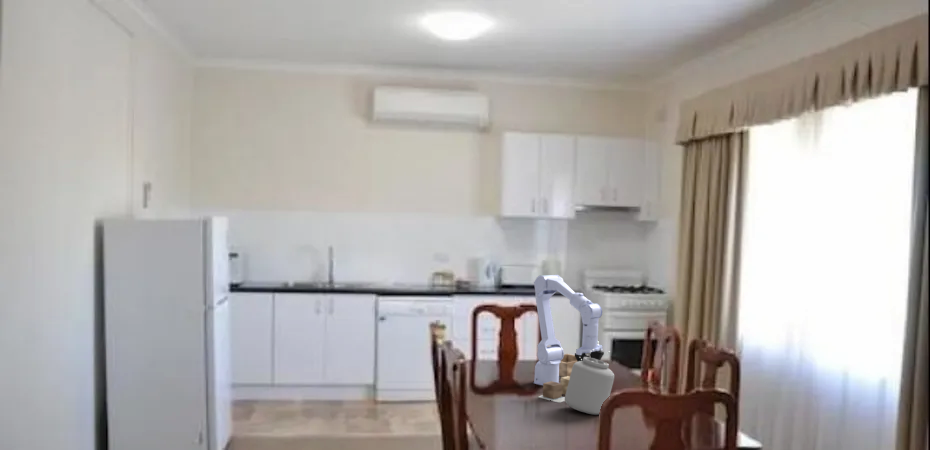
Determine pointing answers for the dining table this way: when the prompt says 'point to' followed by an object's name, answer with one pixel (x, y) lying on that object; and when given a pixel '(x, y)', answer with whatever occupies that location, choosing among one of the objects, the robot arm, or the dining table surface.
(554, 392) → the walnut block
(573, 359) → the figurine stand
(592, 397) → the jar
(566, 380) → the maple block
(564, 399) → the white flat plate
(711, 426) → the dining table surface
